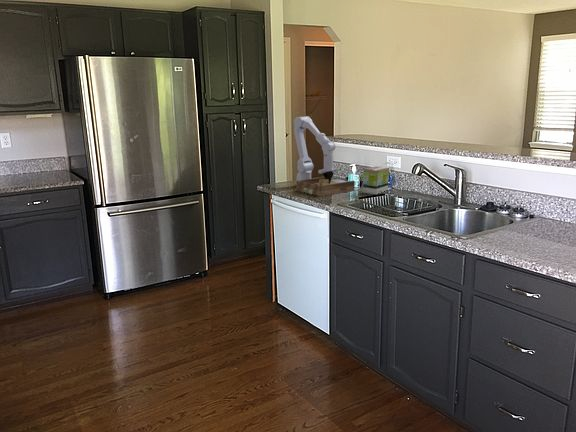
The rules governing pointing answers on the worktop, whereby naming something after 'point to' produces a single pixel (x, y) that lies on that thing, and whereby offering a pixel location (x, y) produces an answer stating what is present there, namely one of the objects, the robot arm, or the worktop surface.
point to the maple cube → (323, 182)
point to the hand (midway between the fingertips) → (328, 183)
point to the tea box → (375, 180)
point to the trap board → (324, 187)
